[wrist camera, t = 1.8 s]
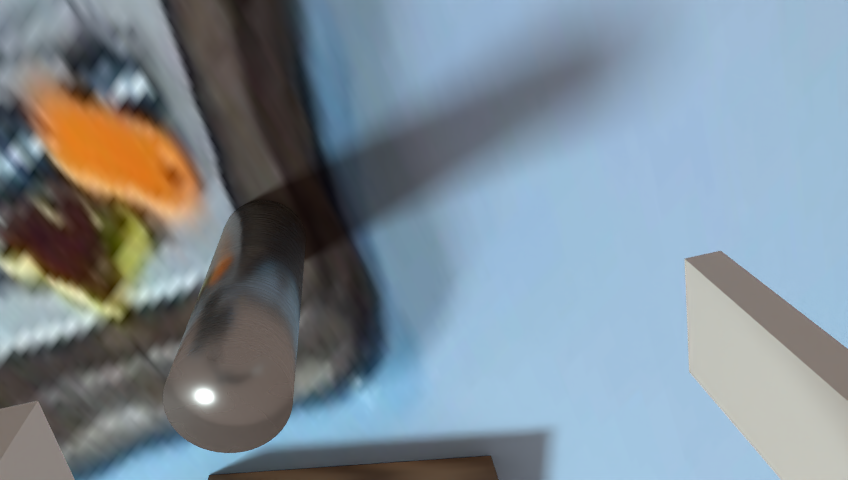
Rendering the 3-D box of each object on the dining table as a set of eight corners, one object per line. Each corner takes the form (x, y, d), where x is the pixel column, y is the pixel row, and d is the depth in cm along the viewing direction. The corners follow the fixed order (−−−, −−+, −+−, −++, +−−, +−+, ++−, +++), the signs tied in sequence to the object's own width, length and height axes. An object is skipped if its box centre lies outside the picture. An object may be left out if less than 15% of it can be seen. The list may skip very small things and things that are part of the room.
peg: (226, 277, 37) (170, 456, 24) (219, 201, 35) (155, 348, 22) (307, 274, 37) (296, 448, 24) (303, 199, 36) (289, 342, 23)
